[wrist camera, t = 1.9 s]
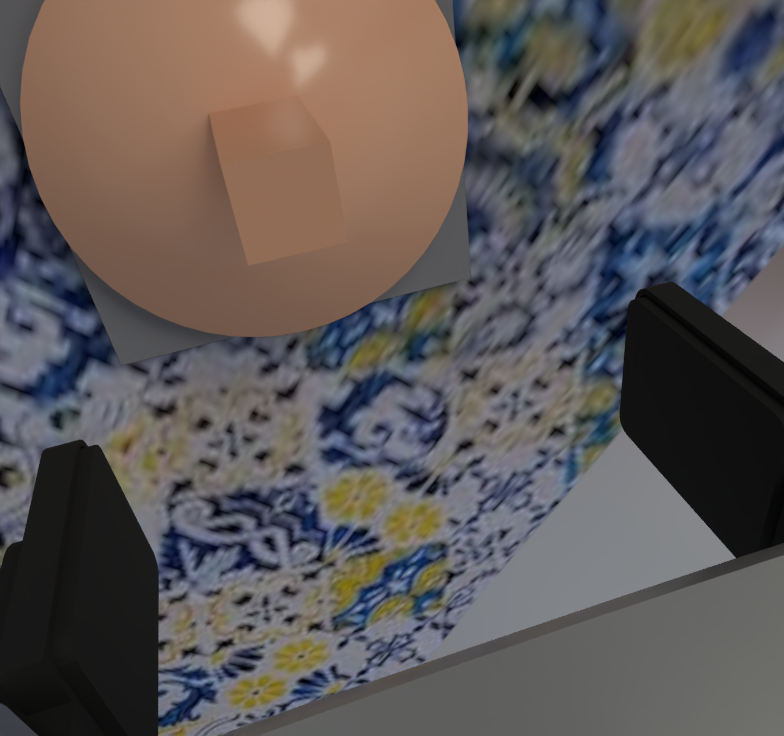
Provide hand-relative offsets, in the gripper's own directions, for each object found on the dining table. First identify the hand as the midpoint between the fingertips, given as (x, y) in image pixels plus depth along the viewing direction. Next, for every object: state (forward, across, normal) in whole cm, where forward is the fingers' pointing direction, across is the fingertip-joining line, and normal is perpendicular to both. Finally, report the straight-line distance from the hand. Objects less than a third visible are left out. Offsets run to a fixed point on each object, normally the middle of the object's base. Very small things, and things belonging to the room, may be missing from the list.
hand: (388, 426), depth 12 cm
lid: (+18, 0, 0) cm, 18 cm away
